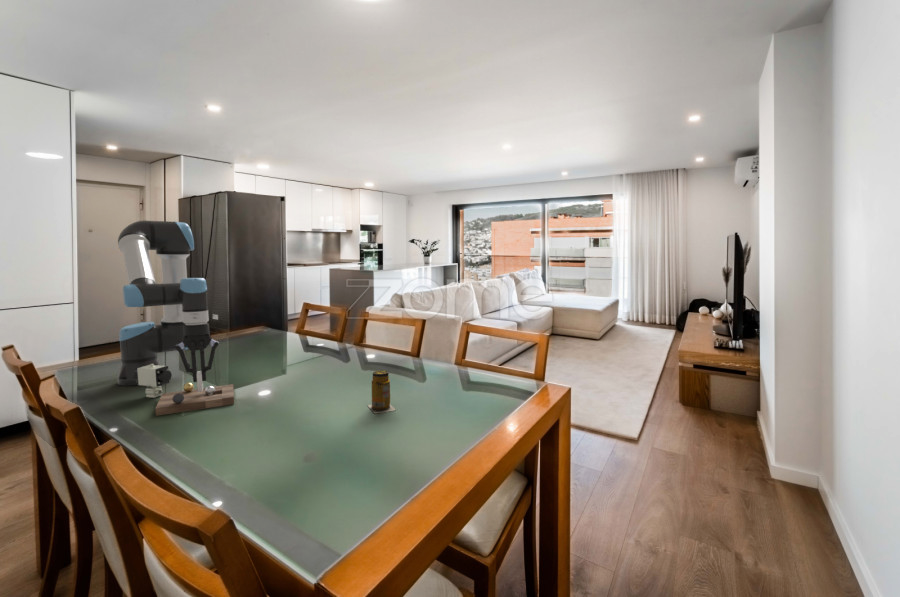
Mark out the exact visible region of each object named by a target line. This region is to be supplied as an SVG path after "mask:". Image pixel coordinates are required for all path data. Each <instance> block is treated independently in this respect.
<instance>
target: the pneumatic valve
mask: <svg viewBox="0 0 900 597" xmlns="http://www.w3.org/2000/svg"><path fill="white" fill-rule="evenodd" d="M134 378H135V380H137V385H136V386H146V388H145V394H146V398H151V399H155V398H157V397H161V395H162V394H163V393H164V391H163V387H162V386H164V385H166V384H169V383H170V381H171V378H172V372H171V371H170V369H169V365H162V364H160V366H159V365H154V364H150V365H145V366H142V367H138V368H136V371H135V373H134Z"/></svg>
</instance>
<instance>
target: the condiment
mask: <svg viewBox="0 0 900 597" xmlns="http://www.w3.org/2000/svg"><path fill="white" fill-rule="evenodd" d="M389 374H390V373H389V371H387V370H383V369H382V370H375V371H373V373H372V380H371V404H367V406H368V408H369V409H370V410H371V412H372V413H373V414H382V413H383V414H384V413H389V412H393V411H396V408H395V407H394V406H392V405H391V380H390V379H389V378H390V377H389Z"/></svg>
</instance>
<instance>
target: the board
mask: <svg viewBox="0 0 900 597" xmlns="http://www.w3.org/2000/svg"><path fill="white" fill-rule="evenodd" d="M213 387H214V388H215V393H214V394H212V395H207V394H206V393H205V389H206V387H203V391H202V392H198V388H193V390H192V391H190V392H186V391H184V390H181V391H180V390H179V391H173V392H165V393H164V392H163V393H162V395H161V396H160V397H159V400H158V402H157V404H156V406H155V416H157V417H158V416H162V415H163V416H164V415H170V414H177V413H184V412H190V411H196V410H197V411H198V410H202V409H203V410H205V409H209V408H210V409H211V408H217V407H224V406H229V405H234V404H235V394H234V393H235V392H234V391H235V389H234V384H233V383H232V384H224V385H217V386H213ZM177 393H181V394H183V396H184V400H183V401H182V402H181V403H174V402H173V400H172V398H173V396H174V395H175V394H177Z"/></svg>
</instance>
